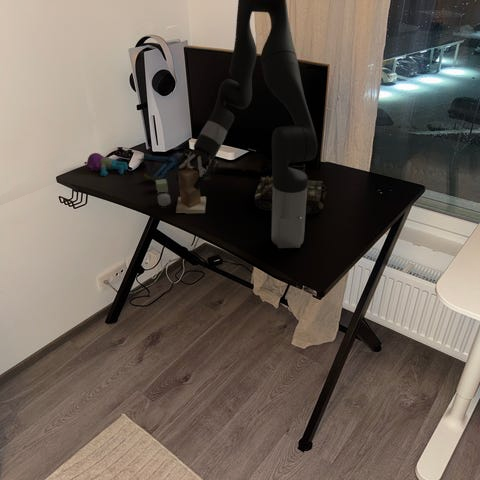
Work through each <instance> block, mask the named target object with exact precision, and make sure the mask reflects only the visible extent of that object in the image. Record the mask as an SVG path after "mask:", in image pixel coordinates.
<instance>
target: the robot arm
mask: <svg viewBox="0 0 480 480" xmlns="http://www.w3.org/2000/svg"><path fill="white" fill-rule="evenodd" d="M287 4H288V3H287V0H237V12H236V24H235V25H236V26H235V38H234V47H233V52H232V57H231V62H230V66H229V71H228V73H229V76H230V77H231V78H232V79H230V78H227V79H225V80H223V81H222V82H221V84H220V86H219V89H218V93H217V98H216V102H215V106H214V109H213V111H212V113H211V114H210V116H209V118H208V119H207V122H206V123H205V125H204V127H202V129H201V131H200V133H199V135H198V137H197V139H196V141H195V143H194V145H193V150H192V151H190V150H189V149H187V148H185V149H184V150H183V152H182V155H181V157H180V159H179V160H178V162H177V165H176V166H178V167H179V168H178V171H177V173H176V174H175V178H174V179H175V181H176V182H179V177H178V172H180V171H182V170H185V169H187V168H191V169H193V168H194V169H197V170H198V172H199V176H198V178H197V180H196V182H195V184H194V185H193V188H195V189H197V190H199V189H200V190H201V188H202V186H203V184H204V182H205V181H207V180H210V181H211V180H212V179H213V177H214V175H215V173H216V171H217V169H218V167H219V164H220V163H219V162H218V161H217V160H215V157H216V156H217V155H218V152H219V151H220V149H221V147H222V145H223V143H224V140H225V139H226V136H227V134H228V132H229V130H230V128H231V127H232V124H233V122H235V121H234V120H235V115H234V113H233V112H232V111H230V110H229V109H228V108H227V107H226V103H227V104H229V105H231V106H232V107H235V108H237V109H239V110H244V109H247V108H248V107H249V105H250V104H251V102H252V99H253V73H254V68H255V64H256V61H257V54H258V51H257V44H256V41H255V39H254V36H253V33H252V29H251V28H252V27H251V17H252V14H253V13H266V14H268V15H269V19H270V27H271V28H270V30H269V34H268V36H267V38H266V40H265V43H264V44H263V47H262V51H261V53H260V64H261V68H262V75H263V78H264V79H263V80H264V82H265V84H266V87H267V88H268V89H269V90H270V92H271V93H272V94H273V95H274V96H275V97H276V98H277V99H278V100H279V101H280V102H281V104H283V106H284V107H285V108H286V109H287V111H288V112H289V113H290V116H291V118H292V121H293V123H294V125H293V124H292V125H285V126H278V127H275V129H273V132H272V134H271V164H272V165H271V168H272V170H271V173H272V174H271V175H273V196H272V211H271V242H272V243H273V244H274V245H275V246H277V248H278V249H296V248H297V249H299V248H301V245H302V244H303V243H304V239H305V226H306V225H305V224H306V200H307V186H308V180H309V177H308V175H307V173H306V172H305V173H304V172H302V170H301V169H297V168H293V167H291V166H289V164H293V163H294V164H295V163H302V162H308V161H313V160H314V159H315V158H316V157H317V154H318V138H317V133H316V130H315V126H314V123H313V119H312V117H311V113H310V111H309V107H308V104H307V101H306V96H305V94H304V93H305V91H304V88H303V84H302V83H303V82H302V79H301V71H300V66H299V62H298V57H297V53H296V49H295V45H294V41H293V36H292V32H291V25H290V21H289V20H290V19H289V12H288V10H289V9H288V5H287ZM182 161H183V162H182ZM181 162H182V163H181ZM189 162H190V163H189ZM208 165H209V167H207V166H208ZM290 167H291V168H290Z"/></svg>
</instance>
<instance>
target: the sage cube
mask: <svg viewBox="0 0 480 480" xmlns="http://www.w3.org/2000/svg"><path fill="white" fill-rule="evenodd" d="M155 181H156V182H155V186H156V187H155V189H156V192H157V191H158V192H157V194H158V193H159V192H165V193H169V188H168V181H167V179H166V178H164V179H163V178H162V179H161V180H155ZM159 194H160V193H159Z"/></svg>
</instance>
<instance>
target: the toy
mask: <svg viewBox="0 0 480 480" xmlns="http://www.w3.org/2000/svg"><path fill="white" fill-rule="evenodd" d="M84 165H86V166H88V167H89V168H90V170H92V171H96V172H98V171H100V176H103V177H106V176H107V175H108V174H109V172H108V171H107V170H114V169H115V170H118V173H119V174H120V175H123V174H124V171H126V170H127V169H128V162H126V161H118V160H116V159H114V158H111V157H109V156H104V155H102V154H101V153H97V152H94V153H91V154H89V156H88V158H87V161H85V162H84Z"/></svg>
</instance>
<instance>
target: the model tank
mask: <svg viewBox="0 0 480 480" xmlns="http://www.w3.org/2000/svg"><path fill="white" fill-rule="evenodd" d="M302 162H303V165H299V164H298V165H297V164H296V165H290V166H289V167H290V168H293V167H294V168H302V170H301V171H302V172H304V173H305V174H306V171H305V170H306V164H304V162H305V161H302ZM327 187H328V185H327V184H325V183H324V182H323V181H322V180H310V179H308V186H307V200H306V214H307V215H314V214H319V212H320V210H323V207H324V203H322V202H324V201H325V198H326V194H327ZM272 196H273V175H272V174H271V175H270V176H269V175H267V176H266V177H263V176H260V177H259V184H258V186H257V189H256V191H255V195H254V197H253V198H254V205H255V206H256V207H257V208H258V209H261V210H263V211H271V212H272ZM306 214H305V215H306Z"/></svg>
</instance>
